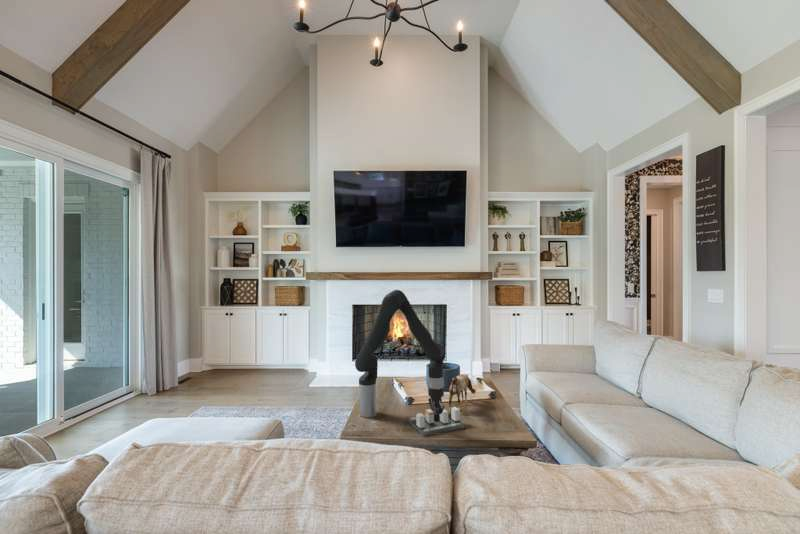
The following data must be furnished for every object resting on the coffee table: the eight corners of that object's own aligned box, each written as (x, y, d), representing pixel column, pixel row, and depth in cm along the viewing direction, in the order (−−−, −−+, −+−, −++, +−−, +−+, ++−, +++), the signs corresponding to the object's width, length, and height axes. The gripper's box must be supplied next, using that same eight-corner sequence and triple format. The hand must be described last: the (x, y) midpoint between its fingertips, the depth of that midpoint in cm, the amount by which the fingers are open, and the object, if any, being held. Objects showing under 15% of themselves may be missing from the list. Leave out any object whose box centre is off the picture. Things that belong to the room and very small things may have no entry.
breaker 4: (451, 418, 207) (451, 407, 207) (455, 417, 208) (455, 406, 207) (455, 421, 203) (455, 410, 203) (459, 420, 204) (459, 409, 204)
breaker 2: (425, 420, 205) (425, 409, 204) (430, 419, 206) (430, 408, 205) (429, 423, 201) (429, 412, 201) (433, 422, 202) (433, 411, 202)
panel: (407, 422, 209) (407, 418, 209) (446, 414, 217) (446, 411, 217) (422, 436, 192) (422, 432, 192) (464, 428, 200) (464, 423, 200)
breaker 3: (440, 420, 204) (439, 409, 204) (444, 419, 205) (444, 408, 205) (443, 423, 201) (443, 412, 200) (448, 422, 202) (448, 411, 201)
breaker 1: (416, 425, 199) (416, 413, 199) (421, 424, 200) (420, 413, 200) (419, 428, 196) (419, 416, 196) (424, 427, 197) (424, 416, 196)
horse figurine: (456, 418, 212) (455, 379, 211) (442, 416, 216) (441, 377, 215) (476, 399, 239) (476, 365, 238) (464, 397, 242) (463, 363, 242)
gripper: (423, 382, 200) (423, 417, 201) (435, 391, 188) (435, 427, 189) (436, 380, 203) (437, 415, 204) (449, 388, 191) (450, 425, 191)
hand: (436, 421), depth 196 cm, fingers closed
